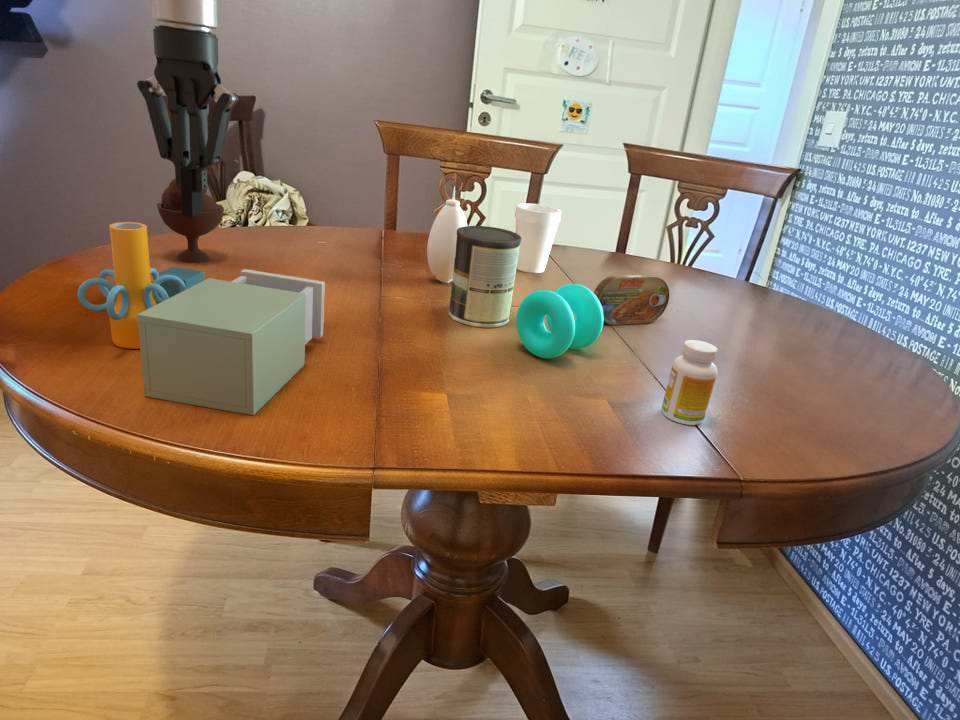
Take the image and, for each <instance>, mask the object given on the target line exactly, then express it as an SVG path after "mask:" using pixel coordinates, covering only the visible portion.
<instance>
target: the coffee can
mask: <svg viewBox="0 0 960 720" xmlns="http://www.w3.org/2000/svg"><path fill="white" fill-rule="evenodd" d="M521 239H522V238H521V236H520V235H518V234H516V232H514V231H511V230H508V229H505V228H501V227H494V226H485V225H467V226H464V227H460V228H458V229H457V241H456V251H455V260H454V270H453V280H452V281H451V290H450V298H449V309H448V316H449V318H451V319H452V320H454V321H455V322H456V323H460V324H461V325H465V326H470V327H473V328H474V327H475V328H486V329H489V328H500V327H503V326H505V325H507V324H508V323H509V322H510V315H511V314H510V313H511V307H512V300H513V294H514V288H515V287H514V286H515V281H516V272H517V268H516V267H517V260H518V253H519V246H520V243H521Z"/></svg>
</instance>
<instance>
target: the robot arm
mask: <svg viewBox="0 0 960 720" xmlns="http://www.w3.org/2000/svg"><path fill="white" fill-rule="evenodd" d="M151 18H152V19H153V20H154V21H157V25H155V26H154V27H153V28H152V34H153V35H152V37H153V53H154V55H155V59H156V64H155V67H154V69H153V75H152V76H150V77H149V78H147V79H146V80H143V79H141V80H138V81H137V83H136V86H137V88H138V90H139V92H140V93H141V95H142V97H143V99H144V100H145V104H146V108H147V112H148V115H149V118H150V122H151V125H152V130H153V134H154V139H155V141H156V145H157V150H158V153H159V156H160V157H161V158H162V159H164V160H167V161H170V162H172V164H173V166H174V175H175V178H174V179H176V187H177V189H181V195H182V215H184V216H190V217H194V216H197V215H200V214H203V201H202V192H206V193H207V190H208V168H209V167H211V166H216V165H220V164H221V162H222V158H223V153H224V148H225V144H226V139H227V134H228V130H229V125H230V120H231V115H232V111H233V110H234V108H235V107H236V105H237V103H238V102H239V95H238V94H237V93H235V92H230V91H229V90H228V89H227V88H226V87H224V86H223V85H222V79H221V77H220V75H219V72H218V66H219V37H217V34H213V33H214V32H213V30H216V29H217V28H218V0H151ZM163 92H164V94H165V96H166V97H167V103H166V100H165V98H164V95H163ZM212 99H213V101H214V102H215V104H214V106H213V110H212V114H211V120H210V124H209V125H208V116H209V114H210V102H211V101H212ZM169 113H170V115H169ZM208 126H209V128H208Z"/></svg>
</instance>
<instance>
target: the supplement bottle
mask: <svg viewBox="0 0 960 720" xmlns="http://www.w3.org/2000/svg"><path fill="white" fill-rule="evenodd" d="M682 345H683V346H682V349H681V354H682V355H679V356H677V357H676V358H675V359H674V360H673V362H672V365H671V369H670V372H669V377H668V381H667V385H666V389H665V392H664V396H663V401H662V404H661V412H662V414H663V416H664V417H666V418H667V419H669V420H671V421H672V422H675V423H679V424H683V425H687V426H696V425H699V424H701V423H703V422H704V420H705V418H706V414H707V412H708V408H709V404H710V400H711V397H712V394H713V390H714V387H715V383H716V379H717V375H718V367H717V365H715V364H714V362H715V360H716V357H717V354H718V348H717V347H716V346H715V345H713V344H711V343H709V342H706V341H702V340H697V339H687V340H685V341H684V342H683V344H682Z"/></svg>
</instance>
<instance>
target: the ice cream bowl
mask: <svg viewBox="0 0 960 720" xmlns="http://www.w3.org/2000/svg"><path fill="white" fill-rule="evenodd" d="M161 194H162V195H161V202H158V203H156V206H157V210H158V213H159V216H160V218H161V219H162V222H163V223H164V224H165V225H166V226H167V227H168V228H169V229H170V230H171V231H173V232H174V233H176V234H178V235H181V236H184V237H185V238H186V240H187V248H186V249H185V250H182V251H181V252H179V253H178V254H177V256H176V258H177V260H178V261H181V262H184V263H196V264H197V263H202V262H203V263H204V262H207V261H209V260H210V257H209V254H208V253H207V252H205V251H203V250H201V249H199V242H198V241H199V238H200V237H202V236H204V235H207V234H209V233H210V232H212V231H214V230H215V229H216V228H217V227H218V226H219V225H220V224H221V222H222V219H223V218H224V213H225V208H224V206H222V204H220V203H217V202H216V200H215V198H213V197H212V196H210V195H208V194H207V191H206V192H202V201H203V214H200V215H197V216H194V217H190V216H184V215H182V195H181V189H177V187H176V179H175V178H174V179H171V181H170V182H169V184H168V186H167V187H166V188H165V189H164V191H163V193H161Z"/></svg>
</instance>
